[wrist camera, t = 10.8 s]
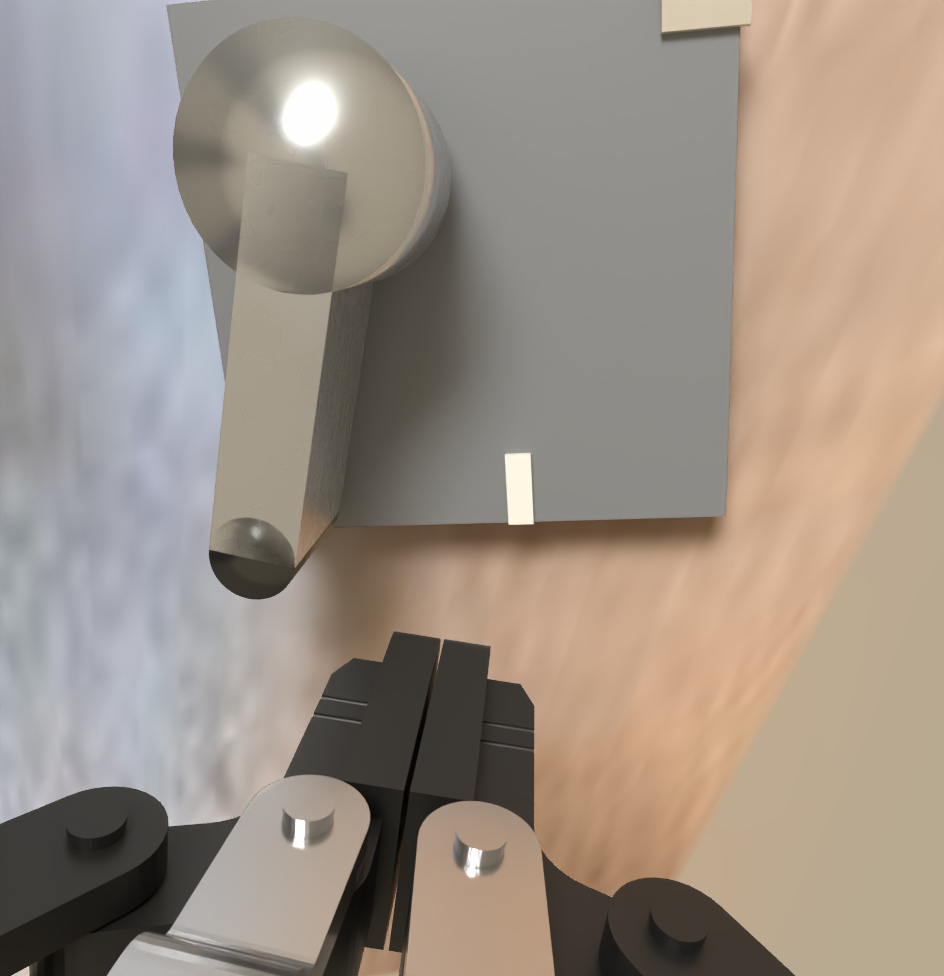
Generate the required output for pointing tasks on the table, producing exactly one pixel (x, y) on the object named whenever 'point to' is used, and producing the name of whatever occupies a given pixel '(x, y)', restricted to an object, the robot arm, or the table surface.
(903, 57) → the table surface
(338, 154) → the lever
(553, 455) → the base
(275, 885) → the robot arm
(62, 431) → the table surface
